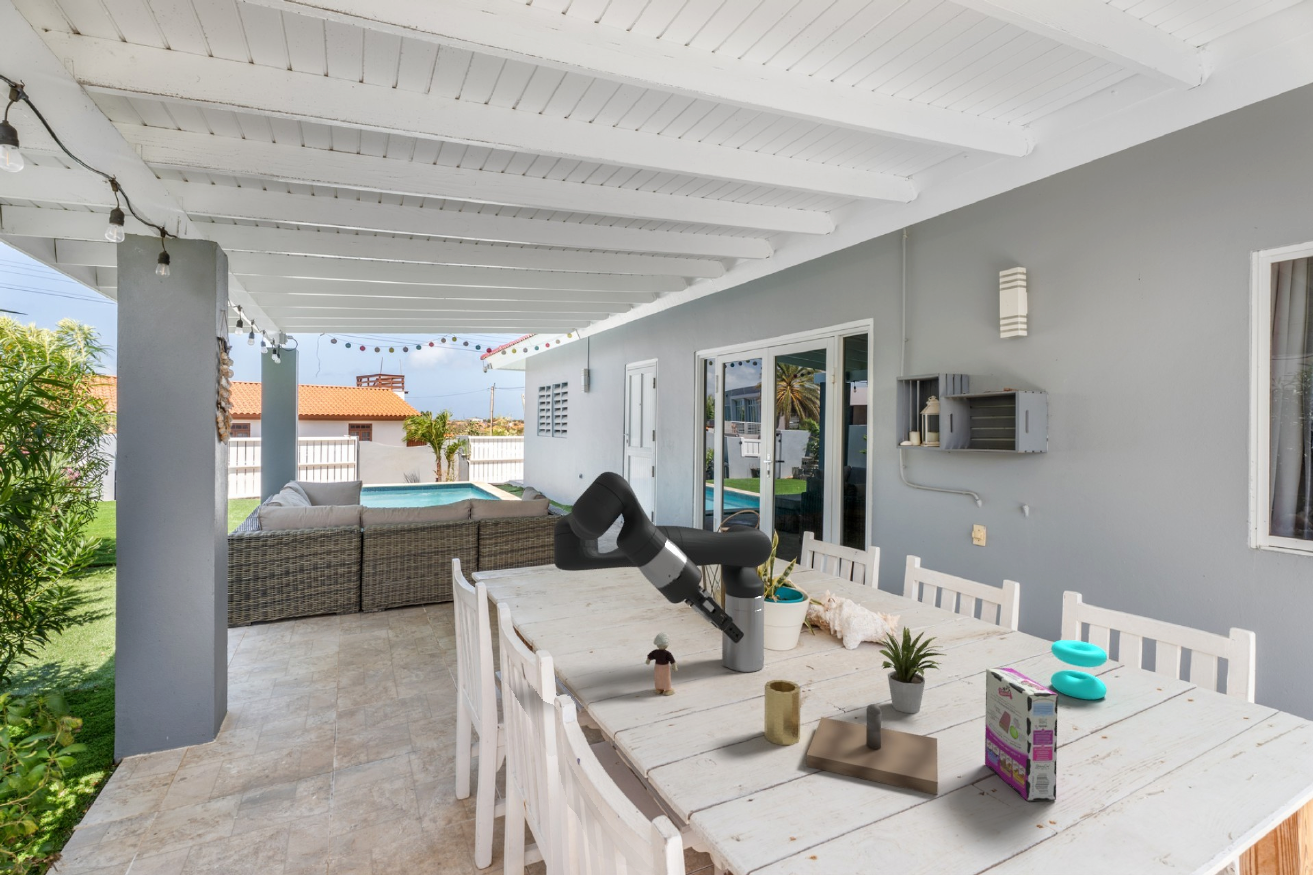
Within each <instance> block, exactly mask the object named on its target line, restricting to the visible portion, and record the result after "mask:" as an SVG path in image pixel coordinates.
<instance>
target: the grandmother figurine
mask: <svg viewBox="0 0 1313 875" xmlns="http://www.w3.org/2000/svg"><path fill="white" fill-rule="evenodd" d="M669 642H670V635H669V634H668V633H666V632H660V633H657V635H656V636H655V638H654V640H653V644H654V645H655V646H656V647H657V648H656V649H653V650H652V651H650V652H649V653H648V654H647V655H646V656H647V657H646V660H645V664H646V665H647V666H648V665H650V664H651V662H652V661H654V660H655V662H654V675H653V676H654V677H653V678H654V690H653V693H654V694H657V695H658V694H661V693H662V695H663V696H671V695H674V694H675V690H674V688H672V680H671V679H672V678H671V668H672V671H673V672H674V673H676V672H678V666H677V662H676V659H675V658H674V655H673V654H672V652H671V651H669V650H667V648H668V647H669Z"/></svg>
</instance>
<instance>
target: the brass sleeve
mask: <svg viewBox="0 0 1313 875" xmlns="http://www.w3.org/2000/svg"><path fill="white" fill-rule="evenodd" d="M763 735H764V737H765V739H766V740H767V741H768V742H771V743H772V744H776V745H781V746H789V745H791V746H793V745H794V744H797V743H799V741H800V740H801V686H799V685H798V684H797V683H795V682H793V681H791V680H785V679H772V680H769V681H767V682H766V683H765V685H764V734H763Z"/></svg>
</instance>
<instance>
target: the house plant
mask: <svg viewBox="0 0 1313 875" xmlns="http://www.w3.org/2000/svg"><path fill="white" fill-rule="evenodd" d="M903 627H904V628H903V630H902V642H901V643H902V644H901V646H900V644H899V642H898V640H897V639H896V638H895V637H894V636H892V635H891V634H890V633H889V632H887V631H885V633H886V635H887V636H888V639H889V641H888V640H887V638H886V637H883V636H882V638H883V639H884V640H882V639H881V638H877V639H878V640H875V642H881V643H883V645H884V646H885V647H886V648H887V650H888V651H887V650H886V649H885V650H884V649H880V650H878V652H879V653H880V654H882V655H884V656H886V658H888V659H889V660H890V661H891V662H892V663H893V664H892V663H891V662H890V661H887V660H884V661H882V665H881V667H882V670H883V669H884V670H885V669H889V668H893V669H894V670H892V671H890V672H888V673H887V678H888V679H887V680H888V686H889V691H890V698H891V704H892V708H893V709H894V710H896V711H898V712H901V713H904V714H905V713H906V714H917V713H918V712H920V710H921V705H922V701H923V700H922V699H923V694H924V689H925V685H926V684H925V682H926V679H925V677H924V674H925V672H924V670H925V669H937V670H938V671H941V670H940V668H938V667H937V666H936V665H938V666H940V664H941V665H943V663H940V662H937V661H934V660H924V661H922V660H923V659H925V658H927V657H933V656H946V654H945V653H939V652H938V653H937V651H938V650H937V649H933V648H942V646H938V645H936V646H935V645H934V646H929V644H930V643H931V642H932V641H933V640H935V639H937V638H938V636H934V637H931V638H929V639H927V640H925V641H924V642H923V643H922V644H921V645H920V646H919V647H918V646H917V644H918V643H919V641H920V639H921V637H923V635H924V633H925V631H923V632H921V633H920V634H918V636H917V637H916V638H914V640H913V641H912V637H911V634H910V633H911V632H910V631H911V630H910V628H909V627H908V628H906V626H903ZM891 644H892V645H891ZM927 646H929V647H927ZM930 651H933V652H930ZM927 663H929V664H927ZM940 667H941V666H940Z"/></svg>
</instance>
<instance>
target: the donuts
mask: <svg viewBox="0 0 1313 875" xmlns="http://www.w3.org/2000/svg"><path fill="white" fill-rule="evenodd" d="M1050 650H1051V652H1052V655H1053V656H1054V657H1055V658H1057V659H1058V660H1059V661H1060V662H1063V663H1066V664H1068V665H1072V666H1075V667H1081V668H1097V667H1101V666H1103V665H1104V664H1105V663H1106V662H1107V660H1108V655H1107V652H1106V651H1105V650H1104V649H1103V648H1101V647H1100V646H1098V645H1096V644H1092V643H1090V642H1086V641H1082V640H1074V639H1060V640H1057V641H1054V642H1053V643H1052V644H1051V648H1050ZM1050 682H1051V685H1052V686H1053V688H1054V689H1055V690H1056V691H1057V692H1060V693H1061V694H1063V695H1065V696H1068V697H1072V698H1077V699H1082V700H1099V699H1102V698H1104V697H1105V696H1106V695H1107V692H1108V690H1107V687H1106V684H1105V683H1104V682H1103V681H1102V680H1101V679H1100V678H1098V677H1096V676H1094V675H1092V674H1090V673H1087V672H1084V671H1078V670H1069V669H1065V670H1063V669H1062V670H1059V671H1056V672H1054V674H1052V675H1051V677H1050Z"/></svg>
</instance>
